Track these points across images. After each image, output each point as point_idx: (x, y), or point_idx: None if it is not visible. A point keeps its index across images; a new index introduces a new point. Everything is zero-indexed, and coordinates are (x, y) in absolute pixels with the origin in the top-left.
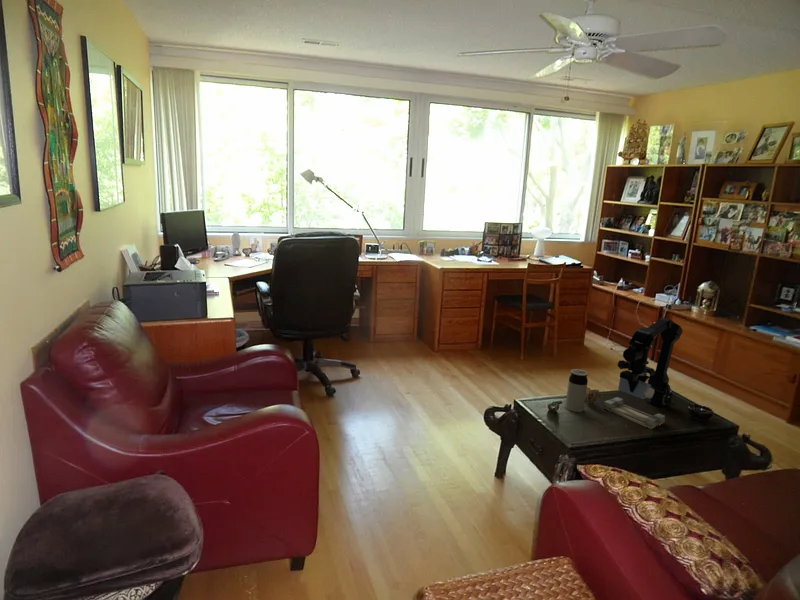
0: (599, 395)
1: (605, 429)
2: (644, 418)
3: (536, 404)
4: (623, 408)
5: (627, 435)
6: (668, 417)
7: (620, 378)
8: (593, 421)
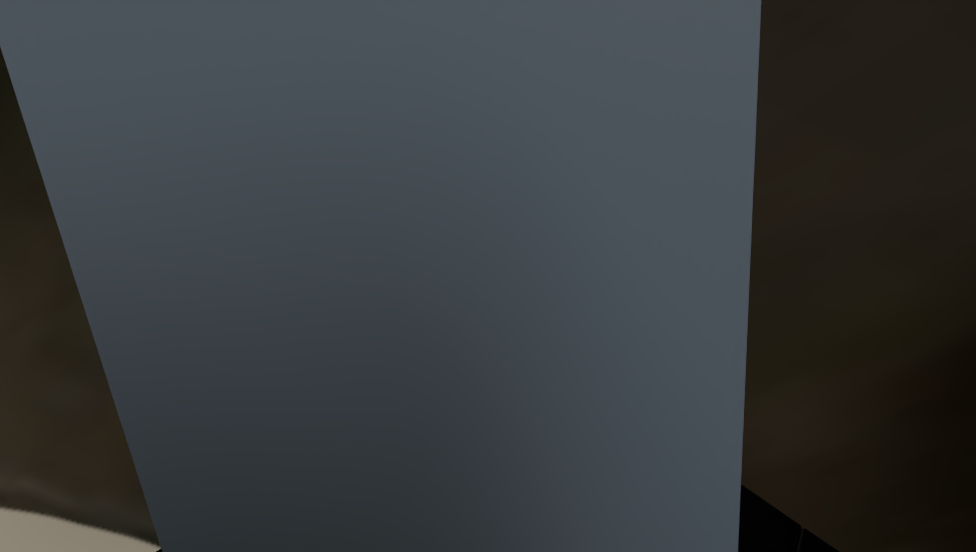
0: None
1: (33, 375)
2: None
3: None
4: None
5: (143, 511)
6: (848, 492)
7: (74, 48)
8: (21, 224)
